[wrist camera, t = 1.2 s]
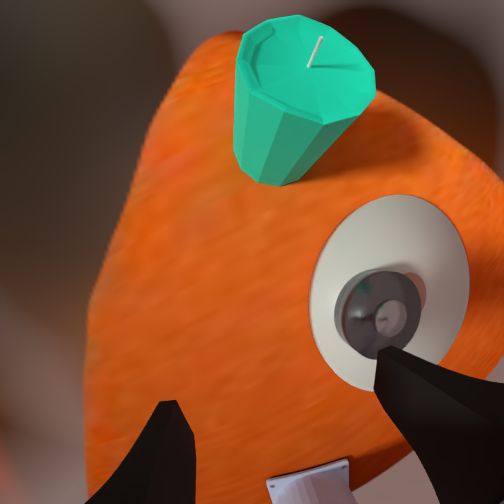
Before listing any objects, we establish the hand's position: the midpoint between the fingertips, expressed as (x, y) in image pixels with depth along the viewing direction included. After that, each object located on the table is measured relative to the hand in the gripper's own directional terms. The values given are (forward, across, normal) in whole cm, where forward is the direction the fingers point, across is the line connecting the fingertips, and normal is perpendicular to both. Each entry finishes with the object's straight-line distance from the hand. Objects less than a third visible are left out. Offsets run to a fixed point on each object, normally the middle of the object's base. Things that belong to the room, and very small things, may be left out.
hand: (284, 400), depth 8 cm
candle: (+14, -4, -9) cm, 17 cm away
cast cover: (+9, -8, +3) cm, 13 cm away
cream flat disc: (+10, -12, +4) cm, 16 cm away
